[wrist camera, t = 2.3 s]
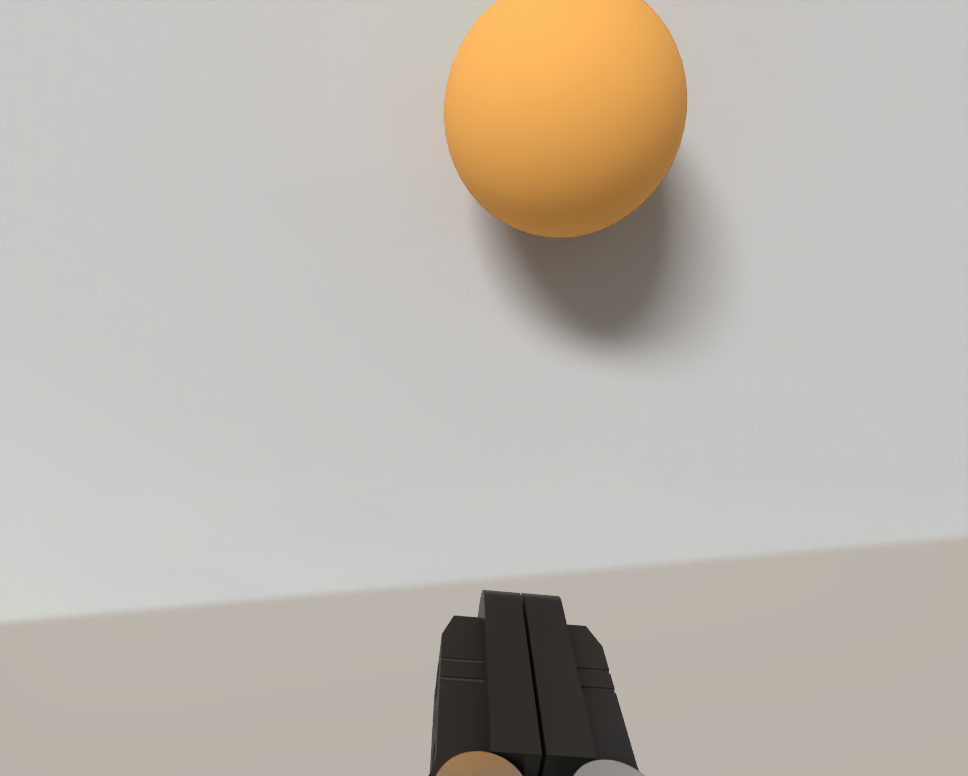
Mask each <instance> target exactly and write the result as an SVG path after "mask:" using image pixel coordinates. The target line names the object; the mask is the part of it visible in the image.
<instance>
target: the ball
mask: <svg viewBox="0 0 968 776" xmlns="http://www.w3.org/2000/svg"><path fill="white" fill-rule="evenodd" d="M686 113H687V88H686V78H685V73H684V69H683V64H682V60H681V57H680V54H679V52H678V49H677V46H676V43H675V42H674V40H673V38H672V36H671V34H670V32H669V30H668V28H667V27H666V26H665V24H664V23H663V21H662V20H661V19H660V17H659V16H658V15H657V13H656V12H655V11H654V10H653V9H652V8H651V7H650V6H649V5H648V4H647V3H646V2H645V1H644V0H498V1H496V2H495V3H494V4H493V5H491V6H490V7H489V8H488V9H487V10H486V11H485V12H484V13H483V14H482V15H481V16H480V17H479V18H478V20H477V21H476V22H475V24H474V25H473V26H472V28H471V29H470V30H469V32H468V33H467V35H466V37H465V38H464V40H463V42H462V44H461V45H460V47H459V49H458V52H457V54H456V56H455V59H454V61H453V64H452V67H451V71H450V74H449V78H448V81H447V87H446V94H445V101H444V123H445V134H446V139H447V143H448V148H449V152H450V155H451V157H452V160H453V163H454V166H455V168H456V170H457V172H458V174H459V176H460V178H461V180H462V181H463V183H464V185H465V186H466V188H467V189H468V191H469V192H470V193H471V195H472V196H473V197H474V198H475V199H476V200H477V201H478V203H479V204H480V205H481V206H482V207H484V208H485V209H486V210H487V211H488V212H489V213H490V214H491V215H493V216H494V217H496V218H497V219H499V220H500V221H502V222H503V223H505V224H507V225H509V226H511V227H513V228H515V229H518V230H521V231H524V232H527V233H530V234H534V235H539V236H544V237H556V238H565V237H577V236H581V235H586V234H590V233H593V232H596V231H599V230H602V229H605V228H607V227H609V226H611V225H613V224H615V223H616V222H618V221H620V220H622V219H623V218H624V217H626V216H627V215H629V214H630V213H632V212H633V211H634V210H635V209H637V208H638V207H639V206H640V205H641V204H642V203H643V202H644V201H646V200H647V198H648V197H649V196H650V195H651V194H652V193H653V192H654V191H655V189H656V188H657V187H658V185H659V184H660V183H661V181H662V180H663V178H664V177H665V175H666V174H667V172H668V170H669V168H670V166H671V164H672V163H673V161H674V158H675V156H676V153H677V151H678V148H679V146H680V142H681V139H682V135H683V131H684V127H685V120H686Z"/></svg>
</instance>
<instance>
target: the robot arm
mask: <svg viewBox="0 0 968 776" xmlns="http://www.w3.org/2000/svg"><path fill="white" fill-rule="evenodd" d="M429 776H644V775H643V774H642V773H640V772H639V770H638V767H637V764H636V761H635V757H634V754H633V750H632V747H631V744H630V740H629V737H628V733H627V730H626V727H625V723H624V719H623V716H622V713H621V709H620V706H619V702H618V699H617V695H616V693H614V685H613V682H612V678H611V675H610V674H609V668H608V665H607V661H606V658H605V654H604V651H603V647H602V646H601V644H600V643H599V642H598V641H597V639H596V638H595V637H594V636H593V634H592V633H591V632H590V631H589V629H588V628H587V627H586V626H578V625H567V624H566V619H565V615H564V610H563V606H562V602H561V599H560V597H559V596H549V595H537V594H526V593H522V594H521V595H520V593H511V592H500V591H489V590H488V591H487V590H482V594H481V598H480V605H479V612H478V617H465V616H454V617H453V618H452V620H451V621H450V623H449V624H448V626H447V627H446V629H445V630H444V632H443V633H442V638H441V647H440V655H439V663H438V671H437V679H436V687H435V695H434V710H433V728H432V747H431V764H430V774H429Z"/></svg>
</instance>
